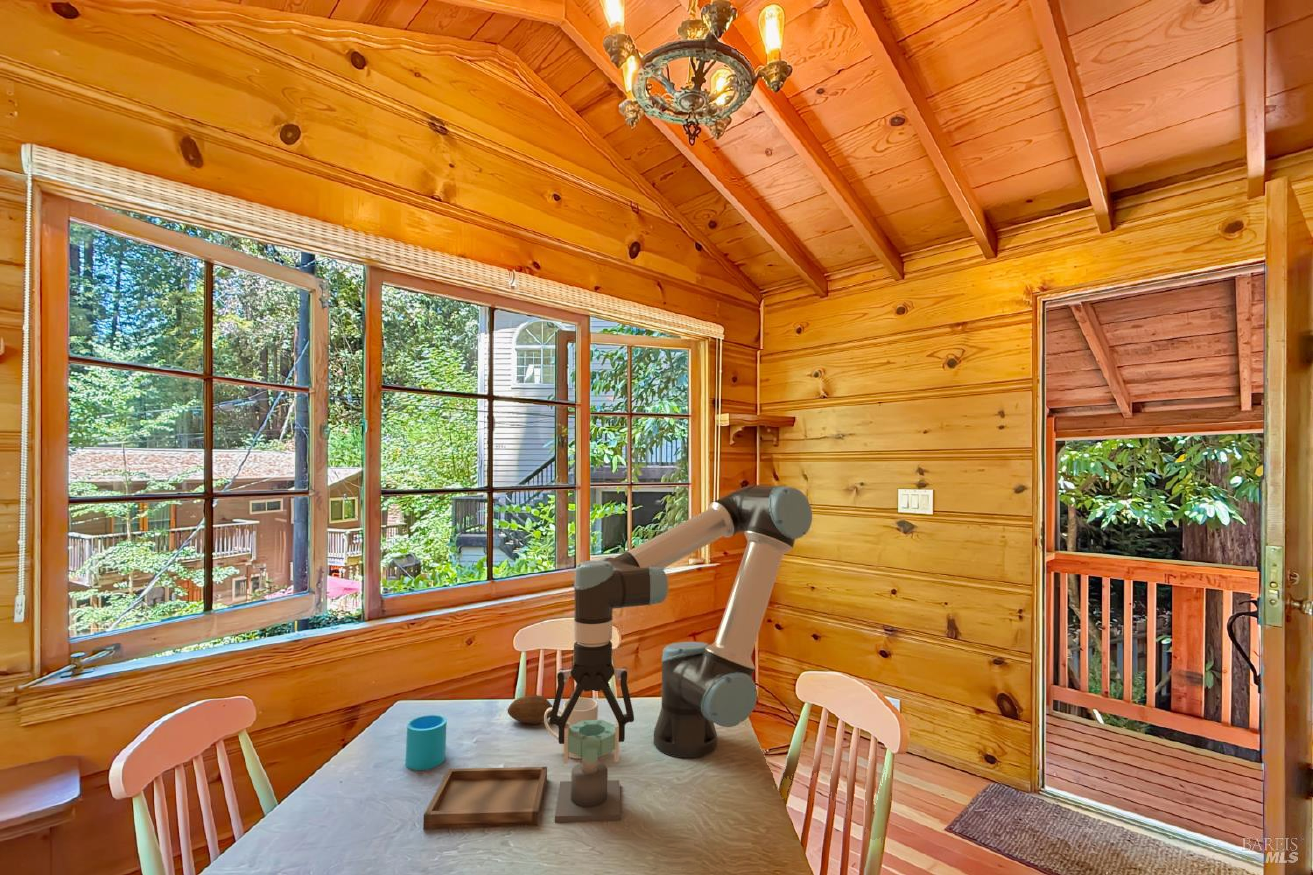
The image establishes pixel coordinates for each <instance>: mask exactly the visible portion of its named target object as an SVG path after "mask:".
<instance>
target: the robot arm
mask: <svg viewBox="0 0 1313 875" xmlns="http://www.w3.org/2000/svg"><path fill="white" fill-rule="evenodd" d="M812 510H813V509H812V506H811V505H810V503H809V499H808V497H807V496H806V495H805V494H804V493H803V492H802V491H801V490H799V489H797V488H796V487H791V486H786V485H759V484H756V485H755V484H753V485H747V486H744V487H741V488H739V489H736V490H734V491H732V492H730V493H728V494H727V495H724V496H723V497H721V498H718V499H717V500H714V501H712V502H711V503H710V504H709V505H708V509H706V510H704V511H703V512H700V513H698V514H697V515H694V516H692V517H691V518H688V519H687V520H685V521H684V522H683V521H682V522H681V523H679V524H678V525H675V526H673V527H672V528H670V529H668V530H666V531H664V532H662V533H660V534H658V535H656V536H654V537H652V538H650V539H649V540H647V541H645V542H643V543H640V544H639V545H637V546H635V547H633V548H631V549H630V550H629V549H628V551H626V552H623V553H620V554H619V555H617V556H615V557H602V558H600V559H599V560H598V559H597V560H585V561H581V562H579V563H578V564H576V567H575V570H574V571H575V573H574V581H573V582H574V583H573V588H574V590H573V591H574V603H573V604H574V619H573V640H574V641H575V642H574V643H573V664H572V667H571V669H570V668H569V669H566V670H565V669H563V668H559V669H558V671H557V675H556V681H557V688H556V692H555V696H554V699H553V700H554V701H553V703H552V707H553V708H552V712H551V716H550V717H549V720H548V722H549V723H548V724H550V725H553V726H557V728H558V735H559V740H558V743H559V745H560V744H561V745H562V744H564V754H563V764H569V760H570V758H569V751H568V733H569V722H567V720H568V718H569V716H570V714H571V712H572V710H573V708H574V706H575V704H576V702H577V700H578V698H581V695H582V693H583V692H584V693H586V692H590V691H591V692H592V691H594V692H602V694H603V696H604V697H605V698H606V700H607V703H608V704H609V707H610V709H611V711H612V713H613V716H614V717H615V719H616V720H614V725H615V750H614V763H616V762H619V760H620V759H619V756H620V755H619V750H620V749H619V748H620V743H622V742H623V743H624V742H625V740H626V738H625V735H626V733H625V732H626V730H625V729H626V725H627V724H628V723H633V722H634V720H635V715H634V709H633V704H632V700H631V696H630V691H629V686H628V682H627V681H628V668H627V667H626V666H624V667H622V668H617V667H614V665H613V642H612V639H613V612H614V610H613V609H621V608H622V609H623V608H632V607H641V606H652V605H656V604H661V603H663V602H664V601H665V600H666V599H667V597H668V594H669V580H668V576H667V574H666V571H664V569H666V568H668V567H669V566H671V565H673V564H674V563H677V562H679V561H680V560H682V559H684V558H685V557H687V556H690V555H692V554H694V553H695V552H697V551H699V550H700V549H703V548H704V547H706V546H708V545H709V544H711V543H713V542H715V541H718V540H719V539H721V538H722V537H724V538H731V537H732V536H735V535H736V534H737V535H738V534H740V533H743V534H744V537H745V538H746V540H747V544H746V547H745V550H744V552H743V556H742V558H741V561H740V565H739V567H738V571H737V573H736V576H735V579H734V582H733V585H732V588H731V590H730V594H729V597H728V600H727V603H726V606H725V609H724V613H723V615H722V617H721V618H722V619H721V622H720V624H719V627H718V630H717V633H716V636H715V639H714V642H713V643H711V644H709V643H706V642H702V641H701V642H700V641H680V642H673V643H670V644H667V645H665V647H664V648H663V650H662V657H661V706H660V707H661V708H660V712H659V715H658V718H657V721H656V724H655V727H654V730H653V746H654V747H655V746H656V747H655V748H656V749H657V750H658V751H660V752H662V753H663V752H664V753H663V754H665V753H667V754H666V755H668V754H669V756H671V755H672V757H677V758H685V759H687V758H698V757H699V758H700V757H704V756H706V754H707V755H709V754H711V753H713V752H714V751H715V750H716V749H717V747H716V746H718V733H717V730H716V726H715V724H716V725H718V726H720V727H722V728H723V727H724V728H733V727H736V726H737V725H739V724H740V723H742V722H745V721H746V720H747V719H748V718H749V717H750V715H752V713H753V711H754V709H755V706H756V704H757V700H758V690H757V689H756V688H757V686H756V683H755V680H753V675H754V672H755V665H754V662H753V660H752V655H753V651H754V648H755V647H756V646H755V645H756V642H757V638H758V636H759V633H760V628H761V626H762V623H763V620H764V617H765V615H766V614H765V613H766V611H767V608H768V604H769V602H770V598H771V594H772V591H773V588H774V586H775V582H776V579H777V576H778V573H779V569H780V566H781V564H782V559H783V558H784V555H786V554H787V553H789V552H791V551H793V548H794V545H795V542H796V540H798V539H800V538H802V537H803V536H804V535H806V534H807V533H808V532H809V531H810V528H811V526H812V522H813V511H812ZM613 676H615V677H616V680H617V681H618V682H619V684H620V690H621V693H622V694H621V695H622V698H623V704H624V708H625V712H626V713H623V711H622V709H621V706H620V705H619V703H618V701H617V698H616V697H615V694H614V692H613V691H612V687H611V685H610V683H609V682H610V681H611V679H612V677H613ZM570 677H572V679H573V680H574V681H575V682H576V685H575V687H574V690H573V691H572V693H571V695H570V697H569V699H568V700H569V701H568V700H567V701H568V703H567V705H566V707H565V709H564V711H563V710H562V711H563V713H562V714H560V715H558V713H559V712H558V710H559V709H560V706H561V705H560V704H561V700H562V696H563V692H564V688H565V684H566V683H568V681H569V678H570ZM715 748H716V749H715ZM714 749H715V750H714ZM713 750H714V751H713ZM712 751H713V752H712ZM710 752H711V753H710ZM708 753H709V754H708ZM703 755H704V756H703Z"/></svg>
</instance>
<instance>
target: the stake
mask: <svg viewBox="0 0 1313 875" xmlns="http://www.w3.org/2000/svg"><path fill="white" fill-rule="evenodd" d="M581 759H582V760H581V762H580V763H577V764H576V765H574V766H572V768H571V774H570V776H571V777H570V778H571V779H570V780H569V781H566V780H565V781H560V782H559V787H558V795H557V800H556V806H555V813H554V823H562V822H563V823H567V822H568V823H569V822H596V821H597V822H598V821H599V822H600V821H601V822H602V821H603V822H605V821H621V817H622V816H621V814H622V813H621V787H620V779H615V780H614V779H610V780H609V779H608V778H609V776H608V774H609V773H608V772H609V771H608V766H606V764H603V763H601V762H599V760H598V759H599V757H597V761H594V762H584V757H582V758H581Z"/></svg>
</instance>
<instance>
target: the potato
mask: <svg viewBox="0 0 1313 875" xmlns="http://www.w3.org/2000/svg"><path fill="white" fill-rule="evenodd" d="M551 707H553V704H551V702H550V701H549V700H548V699H547V698H545V697H544V696H541V695H537V694H529V695H526V696H523V697H520V698H517V699H515V700H514V701H513V702H511V704H510V705H509V706H508V707H507V714H508V716H510V717H511V718H512V719H513V720H515V721H517V722H519V723H523V724H524V723H525V724H532V725H538V724H542V723H544V715H545V712H546V710H547V709H548V708H551ZM551 712H552V711H550V712H548V714H547V720H548V719H550V716H551Z"/></svg>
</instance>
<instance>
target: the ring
mask: <svg viewBox="0 0 1313 875" xmlns="http://www.w3.org/2000/svg"><path fill="white" fill-rule="evenodd" d="M568 751H569V752H571V753H573V754H575V755H577V756H579V757H584V762H594V761H597V757H598V758H601V757H603V756H605V755H607V754H610V753H611V752H613V751H615V723H614V724H613V723H611V722H609V721H606V720H603V719H597V720H584V721H581V722H578V723H576V724H574V725H571V726H570V727H569V733H568Z"/></svg>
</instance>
